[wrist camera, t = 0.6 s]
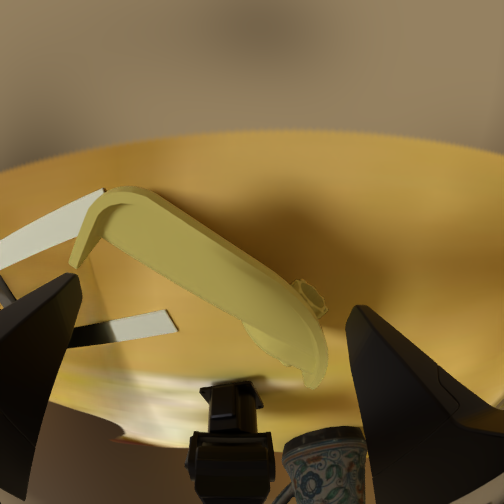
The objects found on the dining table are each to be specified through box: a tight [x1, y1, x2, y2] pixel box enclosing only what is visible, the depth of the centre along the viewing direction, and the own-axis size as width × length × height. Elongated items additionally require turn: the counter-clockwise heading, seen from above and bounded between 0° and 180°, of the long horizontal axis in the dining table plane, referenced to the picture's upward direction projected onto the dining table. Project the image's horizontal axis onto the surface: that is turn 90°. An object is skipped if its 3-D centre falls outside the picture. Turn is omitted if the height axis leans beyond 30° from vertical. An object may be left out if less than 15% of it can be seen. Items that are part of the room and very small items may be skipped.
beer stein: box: [272, 426, 368, 504], centre depth 37 cm, size 16×19×25 cm
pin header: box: [0, 275, 17, 308], centre depth 26 cm, size 12×2×3 cm, turn 16°
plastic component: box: [69, 186, 328, 390], centre depth 20 cm, size 20×7×10 cm, turn 51°
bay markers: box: [0, 188, 178, 349], centre depth 26 cm, size 16×19×1 cm
